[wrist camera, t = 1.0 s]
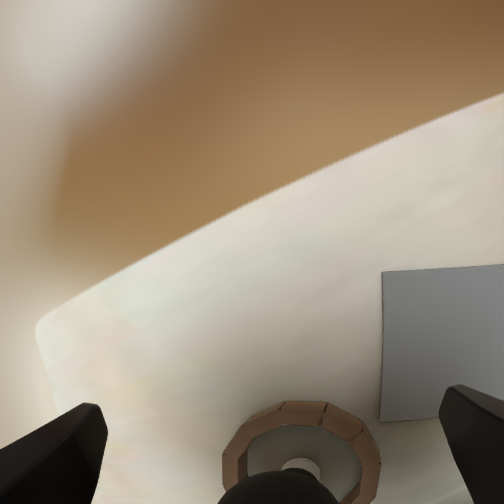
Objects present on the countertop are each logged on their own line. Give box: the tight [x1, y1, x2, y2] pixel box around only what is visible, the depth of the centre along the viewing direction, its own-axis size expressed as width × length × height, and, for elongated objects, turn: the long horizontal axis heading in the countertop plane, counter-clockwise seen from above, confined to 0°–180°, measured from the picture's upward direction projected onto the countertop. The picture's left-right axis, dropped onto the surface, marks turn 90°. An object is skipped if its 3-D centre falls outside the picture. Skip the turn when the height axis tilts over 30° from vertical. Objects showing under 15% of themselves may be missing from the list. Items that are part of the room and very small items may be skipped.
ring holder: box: [222, 401, 381, 504], centre depth 16 cm, size 10×10×2 cm
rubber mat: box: [379, 264, 504, 422], centre depth 16 cm, size 9×9×1 cm
